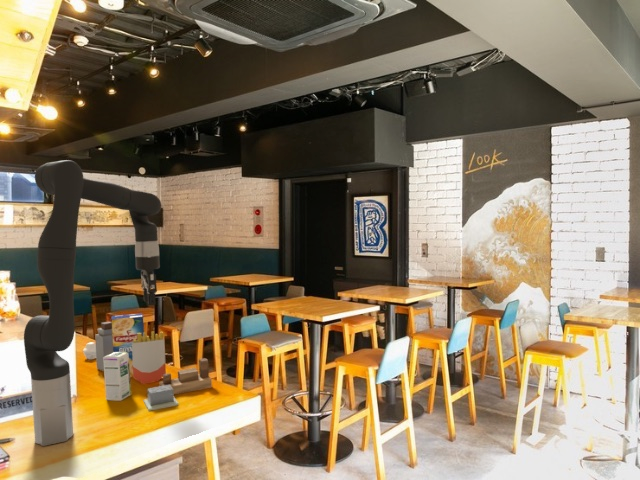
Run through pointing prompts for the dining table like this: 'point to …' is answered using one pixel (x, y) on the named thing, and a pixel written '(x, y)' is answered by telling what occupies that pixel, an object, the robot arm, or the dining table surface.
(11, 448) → the dining table surface
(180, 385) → the body
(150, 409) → the mat
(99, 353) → the perfume bottle
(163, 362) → the french fries container
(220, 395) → the dining table surface
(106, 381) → the syrup box
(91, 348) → the white lumpy round piece
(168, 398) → the lever cap
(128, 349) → the cereal box
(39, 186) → the robot arm
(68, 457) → the dining table surface
